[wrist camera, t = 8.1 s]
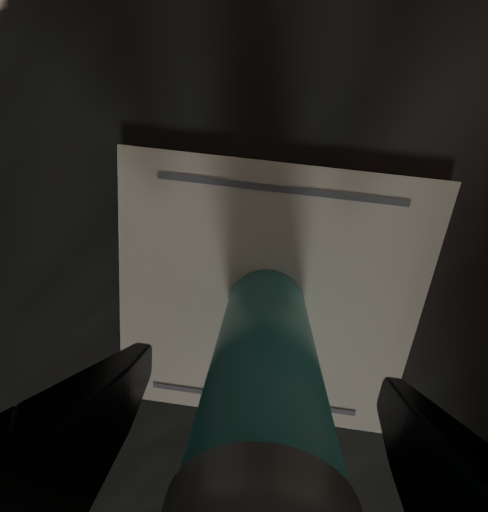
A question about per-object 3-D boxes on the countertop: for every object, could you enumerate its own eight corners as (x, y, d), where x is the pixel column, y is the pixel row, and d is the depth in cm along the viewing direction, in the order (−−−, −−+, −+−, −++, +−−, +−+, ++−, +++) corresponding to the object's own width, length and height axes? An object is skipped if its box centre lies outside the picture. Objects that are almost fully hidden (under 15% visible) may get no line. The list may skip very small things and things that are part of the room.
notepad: (451, 180, 12) (462, 182, 11) (380, 423, 15) (385, 434, 14) (124, 144, 12) (116, 144, 11) (126, 387, 15) (120, 396, 15)
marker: (313, 272, 12) (462, 665, 3) (299, 344, 13) (376, 819, 4) (230, 261, 12) (102, 602, 3) (223, 334, 13) (109, 769, 4)
